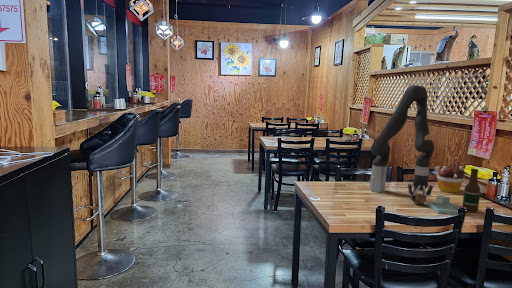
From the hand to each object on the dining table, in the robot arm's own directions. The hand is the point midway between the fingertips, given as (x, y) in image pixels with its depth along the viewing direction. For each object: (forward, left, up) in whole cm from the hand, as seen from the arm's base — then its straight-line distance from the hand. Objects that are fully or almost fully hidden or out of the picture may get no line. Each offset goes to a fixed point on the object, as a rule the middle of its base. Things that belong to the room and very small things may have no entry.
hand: (418, 201), depth 206 cm
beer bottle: (+25, -8, -2) cm, 27 cm away
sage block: (+14, +1, -2) cm, 15 cm away
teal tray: (+11, -9, -1) cm, 15 cm away
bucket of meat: (+33, +34, -2) cm, 47 cm away
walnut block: (0, 0, -1) cm, 1 cm away
